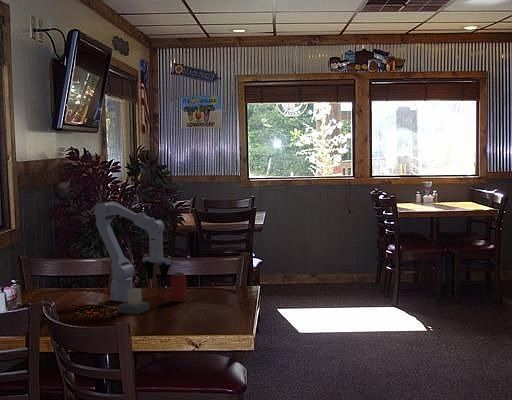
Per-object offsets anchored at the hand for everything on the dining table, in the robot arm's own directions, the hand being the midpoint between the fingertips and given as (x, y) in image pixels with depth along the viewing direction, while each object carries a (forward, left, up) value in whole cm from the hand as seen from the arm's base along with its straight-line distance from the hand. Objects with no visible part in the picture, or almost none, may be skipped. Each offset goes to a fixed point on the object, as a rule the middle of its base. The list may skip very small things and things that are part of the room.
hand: (156, 279), depth 293 cm
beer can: (+6, +7, -10) cm, 14 cm away
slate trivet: (+3, -17, -10) cm, 20 cm away
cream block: (+3, -17, -7) cm, 18 cm away
